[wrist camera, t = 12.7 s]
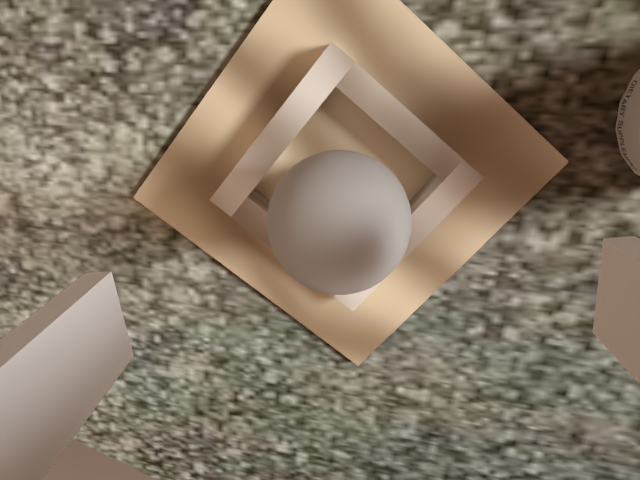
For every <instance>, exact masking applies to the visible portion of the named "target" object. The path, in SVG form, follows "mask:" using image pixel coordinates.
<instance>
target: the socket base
mask: <svg viewBox="0 0 640 480" xmlns="http://www.w3.org/2000/svg"><path fill="white" fill-rule="evenodd" d="M330 150H349V151H354V152H359V153H362V154H365V155H367V156H370V157H372V158H374V159H376V160H377V161H379V162H380V163H382V164H383V165H385V166H386V167H387V168H388V169H389V170H390V171H391V172H392V173H393V174H394V175H395V176H396V177H397V179H398V180H399V182H400V183H401V185H402V186H403V188H404V190H405V193H406V195H407V198H408V200H409V203H410V207H411V214H412V231H411V236H410V239H409V243H408V247H407V250H406V252H405V254H404V256H403V258H402V260H401V261H400V263H399V264H398V265H397V267H396V268H395V269H394V270H393V272H392V273H391V274H389V275H388V276H387V277H386V278H385V279H384V280H382V281H381V282H380V283H378V284H376V285H375V286H373V287H371V288H370V289H367V290H364V291H361V292H358V293H353V294H347V295H331V294H326V293H321V292H317V291H315V290H312V289H310V288H307V287H305V286H304V285H302V284H301V283H299V282H297V281H296V280H295V279H294V278H293V277H291V276H290V275H289V274H288V273H287V272H286V271H285V269H284V268H283V267H282V265H281V264H280V263H279V261H278V260H277V258H276V256H275V254H274V252H273V250H272V248H271V244H270V240H269V237H268V227H267V214H268V208H269V203H270V200H271V198H272V195H273V192H274V190H275V189H276V187H277V185H278V184H279V182H280V181H281V179H282V178H283V176H284V175H285V174H286V173H287V172H288V171H289V170H290V169H291V168H292V167H293V166H294V165H296V164H297V163H299V162H300V161H302V160H303V159H305V158H307V157H309V156H312V155H314V154H317V153H320V152H325V151H330ZM568 162H569V161H568V160H567V159H566V158H565V157H563V156H562V155H561V154H560V153H559V152H558V151H557V150H556V149H555V148H554V147H553V146H552V145H551V144H550V143H549V142H548V141H547V140H546V139H545V138H544V137H542V136H541V135H540V134H539V133H538V132H537V131H536V130H535V129H534V128H533V127H532V126H531V125H530V124H529V123H528V122H527V121H526V120H525V119H524V118H523V117H522V116H520V115H519V114H518V113H517V112H516V111H515V110H514V109H513V108H512V107H511V106H510V105H509V104H508V103H507V102H506V101H505V100H504V99H503V98H502V97H501V96H500V95H498V94H497V93H496V92H495V91H494V90H493V89H492V88H491V87H490V86H489V85H488V84H487V83H486V82H485V81H484V80H483V79H482V78H481V77H480V76H479V75H478V74H476V73H475V72H474V71H473V70H472V69H471V68H470V67H469V66H468V65H467V64H466V63H465V62H464V61H463V60H462V59H461V58H460V57H459V56H458V55H457V54H455V53H454V52H453V51H452V50H451V49H450V48H449V47H448V46H447V45H446V44H445V43H444V42H443V41H442V40H441V39H440V38H439V37H438V36H437V35H436V34H435V33H433V32H432V31H431V30H430V29H429V28H428V27H427V26H426V25H425V24H424V23H423V22H422V21H421V20H420V19H419V18H418V17H417V16H416V15H415V14H414V13H413V12H411V11H410V10H409V9H408V8H407V7H406V6H405V5H404V4H403V3H402V2H401V1H400V0H273V1H272V2H271V3H270V5H269V6H268V8H267V9H266V10H265V12H264V13H263V15H262V16H261V18H260V19H259V20H258V22H257V23H256V25H255V26H254V27H253V29H252V30H251V32H250V33H249V34H248V36H247V37H246V39H245V40H244V42H243V43H242V44H241V46H240V47H239V49H238V50H237V51H236V53H235V54H234V56H233V57H232V58H231V60H230V61H229V63H228V64H227V66H226V67H225V68H224V70H223V71H222V73H221V74H220V75H219V77H218V78H217V80H216V81H215V82H214V84H213V85H212V87H211V88H210V90H209V91H208V92H207V94H206V95H205V97H204V98H203V99H202V101H201V102H200V104H199V105H198V107H197V108H196V109H195V111H194V112H193V114H192V115H191V116H190V118H189V119H188V121H187V122H186V123H185V125H184V126H183V128H182V129H181V131H180V132H179V133H178V135H177V136H176V138H175V139H174V140H173V142H172V143H171V145H170V146H169V147H168V149H167V150H166V152H165V153H164V155H163V156H162V157H161V159H160V160H159V162H158V163H157V164H156V166H155V167H154V169H153V170H152V171H151V173H150V174H149V176H148V177H147V179H146V180H145V181H144V183H143V184H142V186H141V187H140V188H139V190H138V191H137V193H136V194H135V195H134V197H133V198H134V199H136V200H137V201H138V202H140V203H141V204H142V205H144V206H145V207H146V208H148V209H149V210H150V211H152V212H153V213H154V214H156V215H157V216H158V217H160V218H161V219H162V220H164V221H165V222H166V223H168V224H169V225H170V226H172V227H173V228H174V229H176V230H177V231H178V232H180V233H181V234H182V235H184V236H185V237H186V238H188V239H189V240H190V241H192V242H193V243H194V244H196V245H197V246H198V247H200V248H201V249H203V250H204V251H205V252H207V253H208V254H209V255H211V256H212V257H213V258H215V259H216V260H217V261H219V262H220V263H221V264H223V265H224V266H225V267H227V268H228V269H229V270H231V271H232V272H233V273H235V274H236V275H237V276H239V277H240V278H241V279H243V280H244V281H245V282H247V283H248V284H249V285H251V286H252V287H253V288H255V289H256V290H257V291H259V292H260V293H261V294H263V295H264V296H265V297H267V298H268V299H269V300H271V301H272V302H273V303H275V304H276V305H277V306H279V307H280V308H281V309H283V310H284V311H285V312H287V313H288V314H289V315H291V316H292V317H293V318H295V319H296V320H297V321H299V322H300V323H301V324H303V325H304V326H305V327H307V328H308V329H309V330H311V331H312V332H313V333H315V334H316V335H317V336H319V337H320V338H321V339H323V340H324V341H325V342H327V343H328V344H329V345H331V346H332V347H333V348H335V349H336V350H338V351H339V352H340V353H342V354H343V355H344V356H346V357H347V358H348V359H350V360H351V361H352V362H354V363H355V364H356V365H358V366H359V365H360V364H361V363H362V362H363V361H364V360H365V359H366V358H367V357H368V356H369V355H370V354H371V353H372V352H373V351H374V350H375V349H376V348H377V347H378V346H379V345H380V344H381V343H382V342H383V341H384V340H385V339H386V338H387V337H389V336H390V335H391V334H392V333H393V332H394V331H395V330H396V329H397V328H398V327H399V326H400V325H401V324H402V323H403V322H404V321H405V320H406V319H407V318H408V317H409V316H410V315H411V314H412V313H413V312H414V311H415V310H416V309H417V308H418V307H420V306H421V305H422V304H423V303H424V302H425V301H426V300H427V299H428V298H429V297H430V296H431V295H432V294H433V293H434V292H435V291H436V290H437V289H438V288H439V287H440V286H441V285H442V284H443V283H444V282H445V281H446V280H447V279H448V278H449V277H451V276H452V275H453V274H454V273H455V272H456V271H457V270H458V269H459V268H460V267H461V266H462V265H463V264H464V263H465V262H466V261H467V260H468V259H469V258H470V257H471V256H472V255H473V254H474V253H475V252H476V251H477V250H478V249H479V248H481V247H482V246H483V245H484V244H485V243H486V242H487V241H488V240H489V239H490V238H491V237H492V236H493V235H494V234H495V233H496V232H497V231H498V230H499V229H500V228H501V227H502V226H503V225H504V224H505V223H506V222H507V221H508V220H509V219H510V218H512V217H513V216H514V215H515V214H516V213H517V212H518V211H519V210H520V209H521V208H522V207H523V206H524V205H525V204H526V203H527V202H528V201H529V200H530V199H531V198H532V197H533V196H534V195H535V194H536V193H537V192H538V191H539V190H540V189H541V188H543V187H544V186H545V185H546V184H547V183H548V182H549V181H550V180H551V179H552V178H553V177H554V176H555V175H556V174H557V173H558V172H559V171H560V170H561V169H562V168H563V167H564V166H565V165H566V164H567V163H568Z"/></svg>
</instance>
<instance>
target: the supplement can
mask: <svg viewBox="0 0 640 480" xmlns="http://www.w3.org/2000/svg"><path fill="white" fill-rule="evenodd" d="M615 131H616V135H617V140H618V145H619V149H620V154H621V155H622V157H623V158H624V160H625V161H626V162H627V164H628V165H629V166H630V168H631V169H632V171H633V172H634V173H635V174H637V175H639V176H640V69H639V70H638V71H637V72H636V73H635V74H634V75H633V77H632V79H631V81H630V83H629V85H628V87H627V89H626V91H625V93H624V95H623V97H622V99H621V101H620V103H619V109H618V116H617V122H616V128H615Z"/></svg>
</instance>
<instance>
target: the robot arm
mask: <svg viewBox="0 0 640 480" xmlns="http://www.w3.org/2000/svg"><path fill="white" fill-rule="evenodd" d="M593 333H594V334H595V336H596V337H597V338H598V339H599V340H600V341H601V342H602V343H603V344H604V345H605V346H606V347H607V349H608V350H609V351H610V352H611V353H612V354H613V355H614V356H615V357H616V358H617V359H618V360H619V362H620V363H621V364H622V365H623V366H624V367H625V368H626V369H627V370H628V371H629V372H630V373H631V375H632V376H633V377H634V378H635V379H636V380H637V381H638V382H639V383H640V239H639V238H637V237H635V236H633V237H618V238H603V247H602V255H601V264H600V273H599V282H598V290H597V299H596V308H595V316H594V325H593ZM133 356H134V355H133V351H132V348H131V344H130V340H129V336H128V333H127V329H126V325H125V321H124V317H123V314H122V310H121V306H120V302H119V298H118V295H117V291H116V287H115V283H114V279H113V276H112V272H111V271H109V272H94V273H85V274H83V275H82V276H81V277H80V278H78V279H77V280H76V281H74V282H73V283H72V284H71V285H69V286H68V287H67V288H66V289H64V290H63V291H62V292H60V293H59V294H58V295H57V296H55V297H54V298H53V299H52V300H50V301H49V302H48V303H47V304H45V305H44V306H43V307H41V308H40V309H39V310H38V311H36V312H35V313H34V314H33V315H31V316H30V317H29V318H28V319H26V320H25V321H24V322H22V323H21V324H20V325H19V326H17V327H16V328H15V329H14V330H12V331H11V332H10V333H8V334H7V335H6V336H5V337H3V338H2V339H1V340H0V480H43V478H44V477H45V476H46V474H47V473H48V472H49V470H50V469H51V467H52V466H53V465H54V463H55V462H56V461H57V459H58V458H59V457H60V455H61V454H62V453H63V451H64V450H65V448H66V447H67V446H68V444H69V443H70V442H71V440H72V439H73V438H74V436H75V435H76V434H77V432H78V431H79V430H80V428H81V427H82V425H83V424H84V423H85V421H86V420H87V419H88V417H89V416H90V415H91V413H92V412H93V411H94V409H95V408H96V406H97V405H98V404H99V402H100V401H101V400H102V398H103V397H104V396H105V394H106V393H107V392H108V390H109V389H110V387H111V386H112V385H113V383H114V382H115V381H116V379H117V378H118V377H119V375H120V374H121V373H122V371H123V370H124V368H125V367H126V366H127V364H128V363H129V362H130V360H131V359H132V358H133Z"/></svg>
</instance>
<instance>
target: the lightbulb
mask: <svg viewBox="0 0 640 480" xmlns="http://www.w3.org/2000/svg"><path fill="white" fill-rule="evenodd" d="M267 227H268V237H269V240H270V244H271V248H272V250H273V252H274V254H275V256H276V258H277V260H278V261H279V263H280V264H281V265H282V267H283V268H284V269H285V271H286V272H287V273H288V274H289V275H290V276H291V277H293V278H294V279H295V280H296V281H297V282H299V283H301V284H302V285H304V286H305V287H307V288H310V289H312V290H315V291H317V292H321V293H326V294H331V295H347V294H353V293H358V292H361V291H364V290H367V289H370V288H371V287H373V286H375V285H376V284H378V283H380V282H381V281H382V280H384V279H385V278H386V277H387V276H388V275H389V274H391V273H392V272H393V270H394V269H395V268H396V267H397V265H398V264H399V263H400V261H401V260H402V258H403V256H404V254H405V252H406V250H407V247H408V243H409V239H410V236H411V231H412V214H411V207H410V203H409V200H408V198H407V195H406V193H405V190H404V188H403V186H402V185H401V183H400V182H399V180H398V179H397V177H396V176H395V175H394V174H393V173H392V172H391V171H390V170H389V169H388V168H387V167H386V166H385V165H383V164H382V163H380V162H379V161H377V160H376V159H374V158H372V157H370V156H367V155H365V154H362V153H359V152H354V151H349V150H330V151H325V152H320V153H317V154H314V155H312V156H309V157H307V158H305V159H303V160H302V161H300V162H299V163H297V164H296V165H294V166H293V167H292V168H291V169H290V170H289V171H288V172H287V173H286V174H285V175H284V176H283V178H282V179H281V181H280V182H279V184H278V185H277V187H276V189H275V190H274V192H273V195H272V198H271V200H270V203H269V208H268V214H267Z"/></svg>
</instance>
